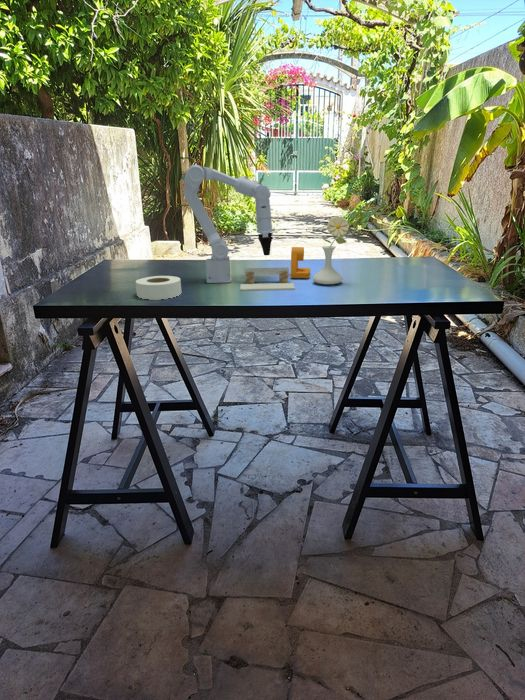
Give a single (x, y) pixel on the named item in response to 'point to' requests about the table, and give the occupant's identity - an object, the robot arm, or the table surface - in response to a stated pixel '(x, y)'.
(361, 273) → the table surface
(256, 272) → the rail
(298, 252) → the bracket
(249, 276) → the post left
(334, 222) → the flower in vase
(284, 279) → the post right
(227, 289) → the table surface
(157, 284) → the roll of tape
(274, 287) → the mat
